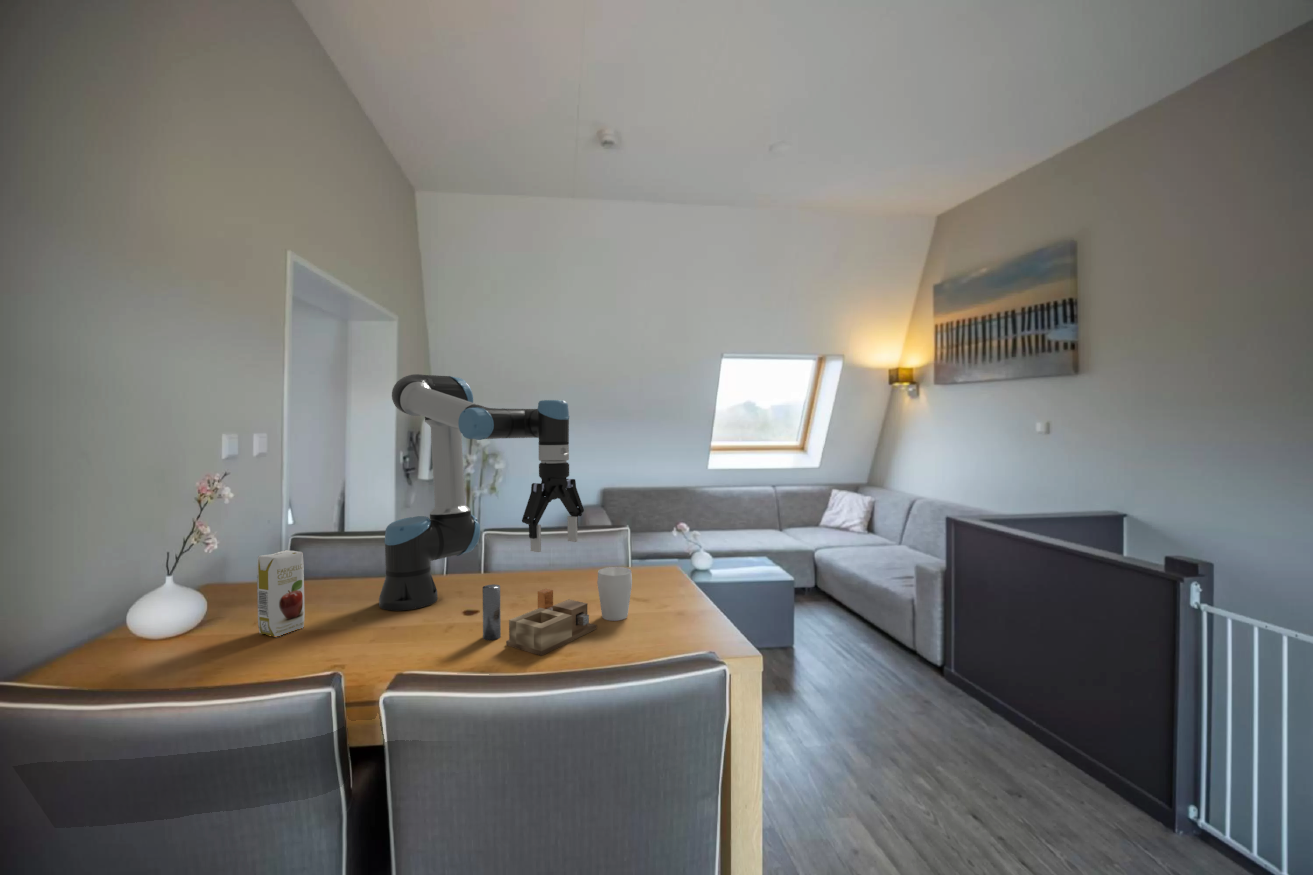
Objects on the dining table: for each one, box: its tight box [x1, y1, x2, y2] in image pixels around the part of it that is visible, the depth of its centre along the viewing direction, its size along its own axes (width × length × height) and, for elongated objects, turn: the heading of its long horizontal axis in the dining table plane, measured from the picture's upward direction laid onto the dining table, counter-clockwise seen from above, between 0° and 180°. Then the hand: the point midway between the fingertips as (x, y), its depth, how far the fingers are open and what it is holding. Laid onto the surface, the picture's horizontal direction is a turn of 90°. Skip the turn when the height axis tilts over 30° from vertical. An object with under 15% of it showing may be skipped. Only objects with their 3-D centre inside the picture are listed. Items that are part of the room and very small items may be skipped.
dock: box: [505, 598, 597, 656], centre depth 135 cm, size 11×19×6 cm, turn 147°
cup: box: [596, 566, 633, 622], centre depth 148 cm, size 9×9×12 cm
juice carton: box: [256, 549, 306, 637], centre depth 138 cm, size 8×9×19 cm
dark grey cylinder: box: [482, 583, 502, 641], centre depth 134 cm, size 4×4×12 cm
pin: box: [537, 588, 590, 626], centre depth 139 cm, size 14×3×8 cm, turn 57°
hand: (554, 546), depth 143 cm, fingers open, 13 cm apart
